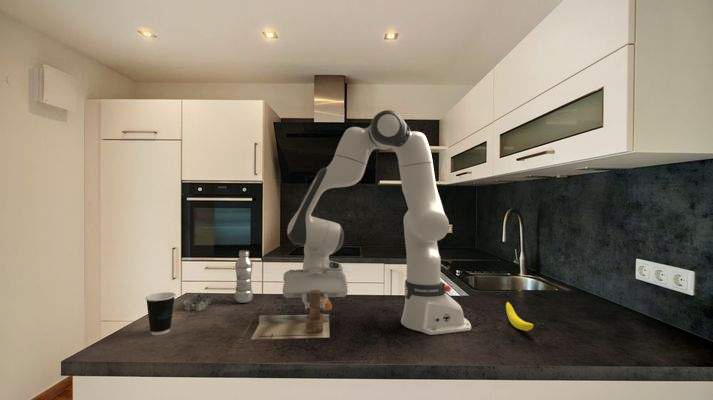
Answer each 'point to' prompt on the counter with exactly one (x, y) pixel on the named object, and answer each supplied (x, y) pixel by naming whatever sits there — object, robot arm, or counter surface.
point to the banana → (517, 319)
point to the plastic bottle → (243, 277)
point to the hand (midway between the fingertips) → (314, 309)
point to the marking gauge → (314, 313)
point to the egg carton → (197, 302)
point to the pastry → (327, 305)
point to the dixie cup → (160, 312)
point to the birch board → (288, 327)
